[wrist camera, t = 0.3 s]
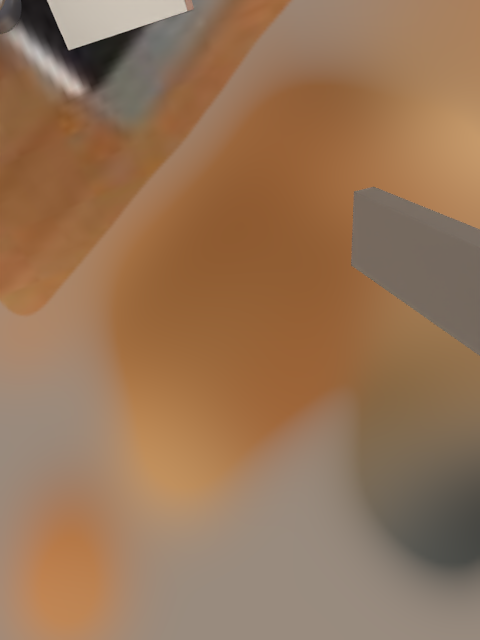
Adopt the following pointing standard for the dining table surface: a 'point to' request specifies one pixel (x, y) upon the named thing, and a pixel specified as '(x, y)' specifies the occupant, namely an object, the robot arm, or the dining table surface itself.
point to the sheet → (109, 17)
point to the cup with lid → (9, 14)
